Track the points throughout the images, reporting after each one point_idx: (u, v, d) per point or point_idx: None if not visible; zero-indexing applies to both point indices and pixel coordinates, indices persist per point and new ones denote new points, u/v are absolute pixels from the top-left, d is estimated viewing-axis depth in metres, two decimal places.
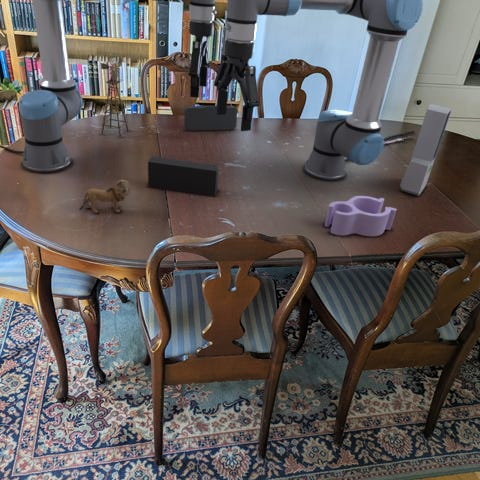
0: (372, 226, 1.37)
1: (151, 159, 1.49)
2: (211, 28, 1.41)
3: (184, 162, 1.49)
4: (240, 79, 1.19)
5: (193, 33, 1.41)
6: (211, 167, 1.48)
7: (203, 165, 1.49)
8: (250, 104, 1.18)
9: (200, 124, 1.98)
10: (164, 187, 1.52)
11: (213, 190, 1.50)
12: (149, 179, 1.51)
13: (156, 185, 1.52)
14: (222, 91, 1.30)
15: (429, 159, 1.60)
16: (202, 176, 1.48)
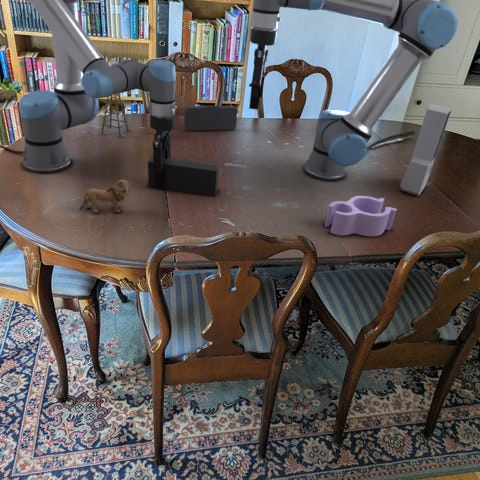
0: (372, 226, 1.37)
1: (151, 159, 1.49)
2: (171, 123, 1.40)
3: (184, 162, 1.49)
4: None
5: (153, 128, 1.40)
6: (211, 167, 1.48)
7: (203, 165, 1.49)
8: (265, 69, 1.49)
9: (200, 124, 1.98)
10: (164, 187, 1.52)
11: (213, 190, 1.50)
12: (149, 179, 1.51)
13: None
14: None
15: (429, 159, 1.60)
16: (202, 176, 1.48)
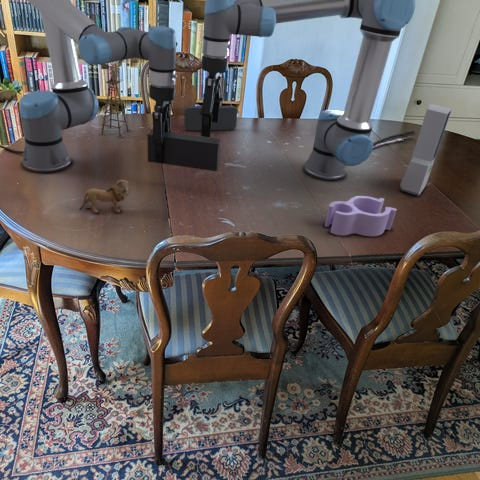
0: (372, 226, 1.37)
1: (151, 132, 1.44)
2: (171, 93, 1.35)
3: (185, 135, 1.45)
4: None
5: (153, 98, 1.35)
6: (213, 140, 1.43)
7: (205, 138, 1.44)
8: None
9: (200, 124, 1.98)
10: (164, 162, 1.47)
11: (215, 164, 1.45)
12: (149, 153, 1.46)
13: None
14: None
15: (429, 159, 1.60)
16: (203, 150, 1.43)
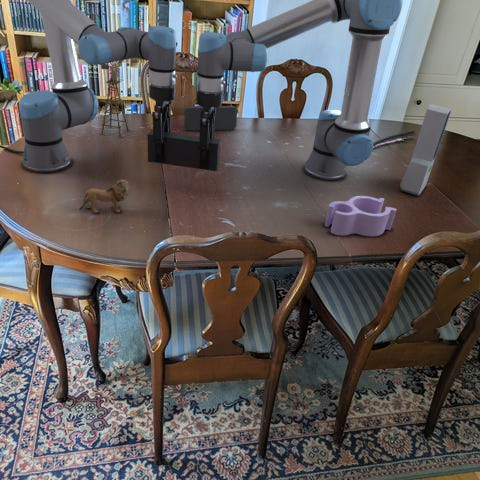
0: (372, 226, 1.37)
1: (151, 132, 1.44)
2: (171, 93, 1.35)
3: (185, 135, 1.45)
4: None
5: (153, 98, 1.35)
6: (213, 140, 1.43)
7: None
8: (213, 135, 1.48)
9: None
10: (164, 162, 1.47)
11: (215, 164, 1.45)
12: (149, 153, 1.46)
13: None
14: None
15: (429, 159, 1.60)
16: None
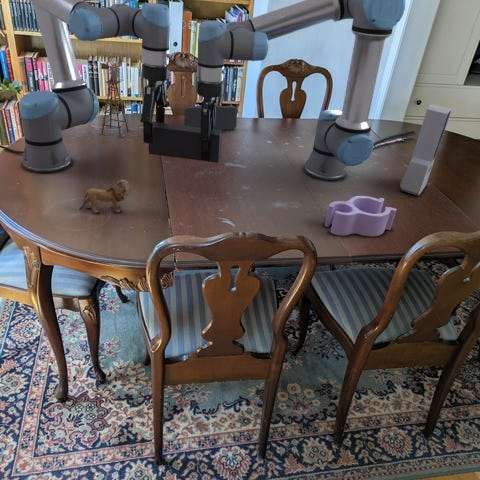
0: (372, 226, 1.37)
1: None
2: (165, 72, 1.33)
3: (186, 127, 1.43)
4: None
5: (146, 77, 1.32)
6: (214, 131, 1.42)
7: None
8: (214, 127, 1.47)
9: (200, 124, 1.98)
10: (166, 154, 1.45)
11: (216, 156, 1.44)
12: (149, 145, 1.45)
13: (156, 152, 1.45)
14: None
15: (429, 159, 1.60)
16: None
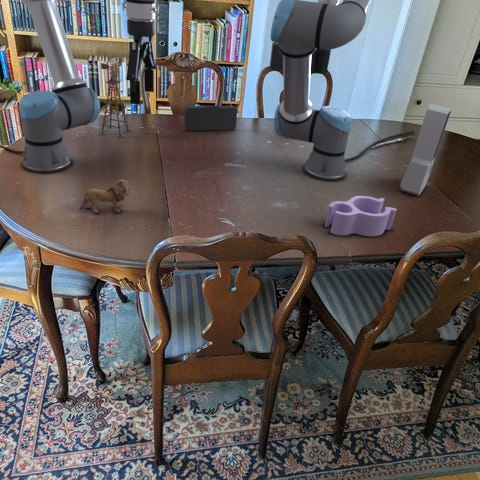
0: (372, 226, 1.37)
1: (274, 43, 1.77)
2: (151, 27, 1.27)
3: None
4: None
5: (131, 33, 1.27)
6: None
7: None
8: None
9: (200, 124, 1.98)
10: None
11: (326, 68, 1.80)
12: (272, 62, 1.79)
13: (277, 67, 1.80)
14: None
15: (429, 159, 1.60)
16: None
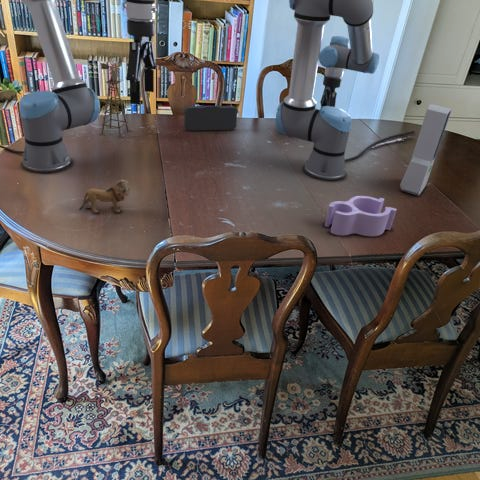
0: (372, 226, 1.37)
1: None
2: (151, 27, 1.27)
3: None
4: None
5: (131, 33, 1.27)
6: None
7: None
8: None
9: (200, 124, 1.98)
10: None
11: None
12: None
13: None
14: None
15: (429, 159, 1.60)
16: None
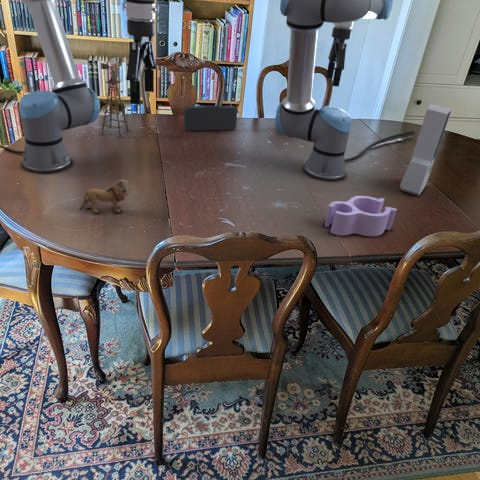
0: (372, 226, 1.37)
1: None
2: (151, 27, 1.27)
3: None
4: None
5: (131, 33, 1.27)
6: None
7: None
8: None
9: (200, 124, 1.98)
10: None
11: None
12: None
13: None
14: None
15: (429, 159, 1.60)
16: None
